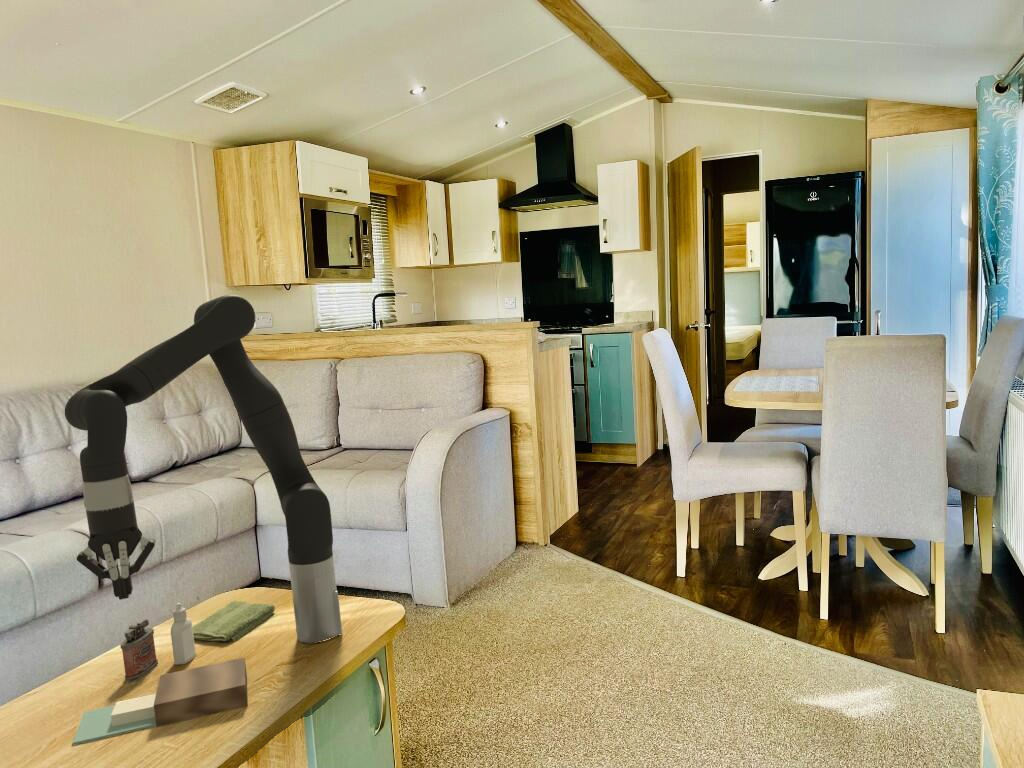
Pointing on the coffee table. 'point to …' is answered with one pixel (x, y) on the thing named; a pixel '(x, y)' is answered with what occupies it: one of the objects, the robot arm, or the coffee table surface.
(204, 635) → the washcloth
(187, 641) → the eye dropper bottle
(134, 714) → the tile
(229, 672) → the wooden block
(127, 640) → the lighter
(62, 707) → the coffee table surface
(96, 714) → the mat
